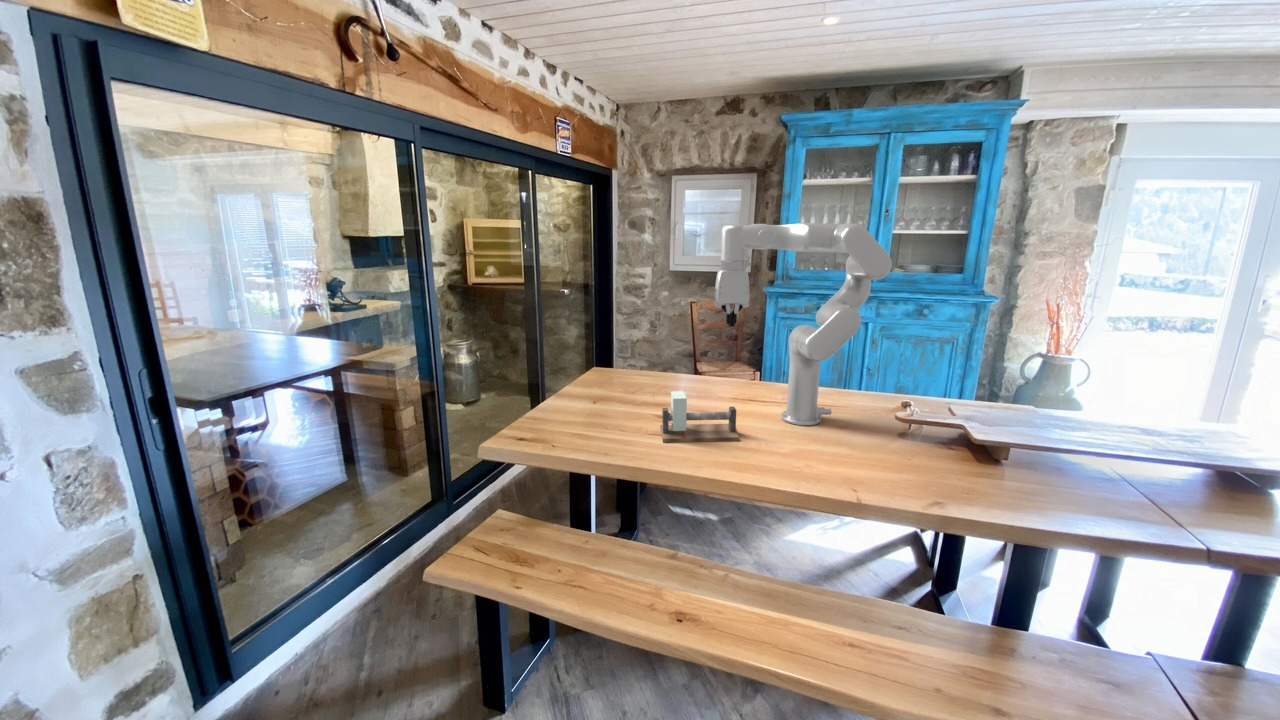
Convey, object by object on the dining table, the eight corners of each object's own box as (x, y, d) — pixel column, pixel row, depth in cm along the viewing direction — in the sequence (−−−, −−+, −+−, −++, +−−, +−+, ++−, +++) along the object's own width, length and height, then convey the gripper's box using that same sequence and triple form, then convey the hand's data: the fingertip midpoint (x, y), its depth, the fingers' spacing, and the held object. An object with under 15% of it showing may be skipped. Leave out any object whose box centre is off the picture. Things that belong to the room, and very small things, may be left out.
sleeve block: (683, 422, 157) (684, 391, 155) (686, 430, 150) (686, 398, 148) (670, 422, 157) (671, 391, 155) (672, 430, 150) (673, 398, 148)
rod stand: (731, 427, 160) (732, 402, 158) (739, 440, 149) (740, 414, 147) (660, 428, 160) (660, 403, 158) (662, 442, 149) (662, 415, 147)
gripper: (754, 265, 156) (751, 323, 161) (706, 266, 156) (705, 324, 160) (760, 267, 149) (757, 327, 153) (710, 267, 148) (709, 328, 153)
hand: (731, 325), depth 157 cm, fingers closed
